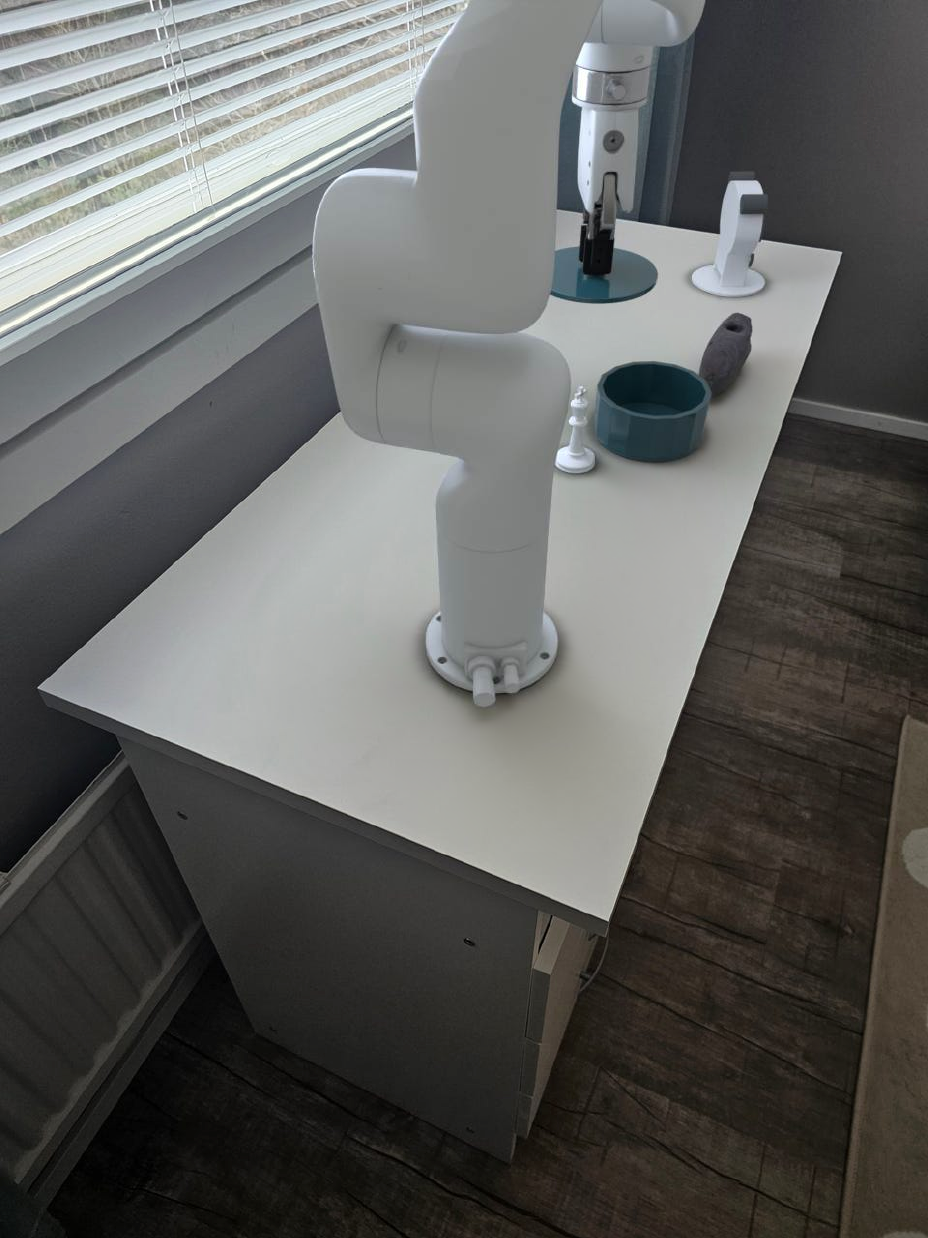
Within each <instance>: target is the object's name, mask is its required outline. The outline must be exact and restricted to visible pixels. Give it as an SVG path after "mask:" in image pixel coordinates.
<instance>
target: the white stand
mask: <svg viewBox="0 0 928 1238" xmlns="http://www.w3.org/2000/svg"><path fill="white" fill-rule="evenodd" d="M728 174H729V175H728V180H727V186H726V189H725V192H724V193H725V194H724V197H723V201H722V204H721V205H722V206H721V211H720V223H719V238H718V243H717V248H716V253H715V258H714V262H713V264H709V265H705V266H702V267H699V268H697V269H696V270H694V272H693V273H692V274H691V282H692V284H693V285H694V286H695V287H696V289H699V290H701V291H703V292H705V293H708V294H711V295H715V296H718V297H727V298H728V297H729V298H738V297H739V298H740V297H742V298H743V297H748V296H752V295H755V294H758V293H759V292H761V291H762V290H763V289H764V287H765V283H766V280H765V278H764V277H763V276H762V275H761V274H760V273H759V272H758V271H756V270H753V269H751V267H752V266H753V264H754V261H755V253H754V252H755V250H756V248H757V247H758V244H759V243H761V242H762V240H763V235H764V231H765V224H766V213H767V210H768V204H769V196H768V194H767V193H764V191H763V189H762V186H761V183H760V182H759V181H758V180H755V174H756V173H755V171H730V172H729V173H728Z"/></svg>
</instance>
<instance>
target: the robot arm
mask: <svg viewBox="0 0 928 1238" xmlns="http://www.w3.org/2000/svg"><path fill="white" fill-rule="evenodd" d="M705 4H706V0H471V1H470V2H469V4H467V6H466V7H465V9H464V10H463V11H462V13H461V14H460V15H459V17H457V19H456V20H455V22H454V23H453V24H452V25H451V27H450V28H449V30H448V31H447V32H446V33H445V35H444V36H443V38H441V41H440V42H439V44H438V45H437V46H436V48H435V50H434V51H433V53H432V55H431V56H430V58H429V59H428V62H427V64H426V65H425V67H424V69H423V71H422V73H421V75H420V77H419V79H418V81H417V83H416V87H415V91H414V94H413V102H412V121H413V122H412V123H413V131H414V133H413V134H414V145H415V146H414V147H415V161H416V163H415V164H416V170H408V169H398V168H397V169H395V168H385V167H384V168H381V167H379V168H378V167H366V168H357V169H353V170H350V171H348V172H346V173H343V174H341V175H340V176H338V177H337V178H336V179H334V180H333V182H332V183H331V184H330V185H329V186H328V187H327V189H326V190H325V192H324V194H323V196H322V198H321V200H320V202H319V205H318V209H317V212H316V216H315V221H314V228H313V233H312V269H313V277H314V284H315V291H316V298H317V302H318V308H319V314H320V318H321V324H322V329H323V334H324V338H325V344H326V349H327V354H328V358H329V364H330V369H331V374H332V379H333V384H334V385H333V386H334V389H335V393H336V398H337V402H338V406H339V410H340V412H341V415H342V418H343V421H344V422H345V424H346V425H347V427H348V428H349V429H350V430H351V431H352V432H353V434H355V435H356V436H358V437H360V438H362V439H364V440H366V441H369V442H374V443H376V444H382V445H388V446H392V447H398V448H405V449H410V450H411V449H412V450H415V451H423V452H429V453H435V454H439V455H443V456H450V457H454V458H458V460H457V461H456V462H455V463H454V464H453V465H452V466H451V467H450V468H449V470H448V471H447V473H446V474H445V475H444V477H443V478H442V480H441V482H440V484H439V486H438V489H437V493H436V497H435V506H434V507H435V528H436V543H437V544H436V547H437V548H436V549H437V569H438V590H439V592H438V593H439V607H440V608H439V611H438V612H437V613H436V614H435V615H434V616H433V617H432V619H431V620H430V621H429V622H430V623H429V624H428V626H427V629H426V633H425V649H426V656H427V658H428V661H429V663H430V666H432V668H433V669H434V670H435V672H436V673H437V674H438V675H439V676H441V678H443V679H444V680H445V681H447V682H449V683H450V684H452V685H454V686H456V687H458V688H460V689H464V690H466V691H469V692H472V698H473V699H472V701H473V703H474V705H475V706H477V707H480V708H487V707H491V706H492V705H494V704H495V702H496V694H503V693H504V694H505V693H508V694H512V695H513V694H517V693H518V692H519V691H520V690H521V689H523V688H526V687H529V686H531V685H533V684H534V683H535V682H537V681H539V680H540V679H541V678H542V677H543V676H545V675H546V674H547V673H548V672H549V670H550V669H551V668H552V667H553V664H554V663H555V660H556V657H557V654H558V646H559V637H558V636H559V635H558V631H557V629H556V625H555V624H554V622H553V620H552V619H551V617H550V616H549V615H548V614H547V613H546V612H545V611H544V610H545V594H546V581H547V580H546V579H547V564H548V551H549V550H548V547H549V536H550V535H549V534H550V533H549V532H550V519H551V505H552V492H553V484H554V483H553V482H554V475H555V467H556V465H555V463H556V457H557V452H558V450H559V449H560V448H559V447H560V445H561V444H560V443H561V439H562V434H563V431H564V427H565V423H566V419H567V415H568V411H569V406H570V399H571V394H572V393H571V391H572V377H571V371H570V367H569V364H568V362H567V360H566V358H565V356H564V355H563V354H562V352H561V351H560V350H559V349H558V348H556V347H555V346H554V345H552V344H551V343H550V342H548V341H546V340H544V339H542V338H540V337H537V336H535V335H531V334H527V333H524V332H522V331H524V330H526V329H528V328H530V327H532V326H533V325H535V324H536V323H537V322H538V320H539V319H541V316H542V315H543V313H544V311H545V310H546V308H547V305H548V302H549V299H550V296H551V295H550V293H551V287H552V280H553V273H554V260H555V251H556V237H557V213H558V212H557V210H558V185H559V184H558V182H559V181H558V180H559V179H558V178H559V149H560V148H559V147H560V128H561V117H562V110H563V105H564V101H565V98H566V95H567V92H568V91H567V90H568V88H569V85H570V84H569V83H570V80H571V78H572V92H571V93H572V94H571V101H572V103H573V104H574V105H576V106H578V107H579V108H581V113H580V114H581V115H580V128H579V140H578V155H577V186H578V191H579V194H580V197H581V200H582V203H583V208H582V219H581V220H582V224H581V225H580V234H579V261H580V262H583V267H582V271H583V274H585V275H600V274H610V273H611V269H612V259H613V249H614V248H615V239H616V238H615V234H616V232H615V231H616V224H617V223H616V222H617V213H618V212H617V209H618V204H619V206H620V209H621V211H622V212H624V213H625V214H629V213H631V212H632V211H633V208H634V200H635V199H634V197H635V185H636V171H637V170H636V169H637V158H638V157H637V156H638V145H639V144H638V143H639V108H641V107H644V106H645V105H646V104H647V102H648V94H649V86H650V77H651V69H652V61H653V52H654V47H674V46H675V47H676V46H679V45H682V44H683V43H684V42H686V41H687V40H688V39H689V38H690V37H691V36H692V34H693V33H694V32H695V31H696V29H697V27H698V25H699V23H700V21H701V17H702V15H703V11H704V8H705ZM572 74H573V77H572ZM595 222H596V223H595ZM588 224H589V225H588ZM587 225H588V237H586V227H587Z"/></svg>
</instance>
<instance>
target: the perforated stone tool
mask: <svg viewBox="0 0 928 1238" xmlns="http://www.w3.org/2000/svg"><path fill="white" fill-rule="evenodd" d="M752 334H753V324H752V318H751V317H749V316H748V315H745V314H744V313H740V312H733V313H731V314H730V315H729V316H728V317H727V318H725V319H724V320H723V321H722V322H721V323H720V325H719V326H718V327H717V329H716V330H715V331H714V333H713V334H712V336H711V338H710V339H709V341H708V343H707V345H706V347H705V349H704V352H703V354H702V356H701V360H700V365H699V370H698V375H699V376H700V377H702V378H703V379H704V380H706V381H707V384H708V386H709V388H710V390H711V392H712V394H711V398H714V397H716V396H718V395H719V394H721V393H723V392H724V391H725V390H726V389H727V388H728V387H729V386H730V385H731V384H732V382H733V381H734V380H735V378H736V377H737V376H738V374H739V373H740V371H741V370H742V368H743V367H744V366H745V364H746V362H747V360H748V358H749V356H750V354H751V352H752V340H751V338H752Z"/></svg>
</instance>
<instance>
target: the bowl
mask: <svg viewBox="0 0 928 1238" xmlns="http://www.w3.org/2000/svg"><path fill="white" fill-rule="evenodd" d="M711 394H712V392H711V390H710V388H709V386H708V384H707V381H706V380H704V379H703V378H702V377H700V376H699V373H697V372H695V371H694V370H692V369H688V368H686V367H684V366H681V365H678V364H675V363H670V362H663V361H658V360H657V361H656V360H651V361H650V360H646V361H645V360H643V361H641V360H640V361H631V362H627V363H623V364H620V365H615V366H613V367H612V368H611V369H608V370H607V371H606V372H604V373H603V374H602V375H601V376H600V378H599V381H598V382H597V385H596V394H595V404H594V414H593V433H594V436H595V438H596V439H597V441H598V442H599V443H600V445H602V446H603V447H604V448H605V449H607V450H608V451H610V452H612V453H614V454H616V455H618V456H621V457H623V458H626V459H628V460H629V459H630V460H633V461H640V462H648V463H661V462H669V461H675V460H678V459H682V458H684V457H687V456H689V455H690V454H691V453H693V452H695V451H696V450H697V449H698V448H699V446H700V445H701V443H702V440H703V436H704V432H705V429H706V423H707V419H708V413H709V409H710V403H711V398H712V397H711Z"/></svg>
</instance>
